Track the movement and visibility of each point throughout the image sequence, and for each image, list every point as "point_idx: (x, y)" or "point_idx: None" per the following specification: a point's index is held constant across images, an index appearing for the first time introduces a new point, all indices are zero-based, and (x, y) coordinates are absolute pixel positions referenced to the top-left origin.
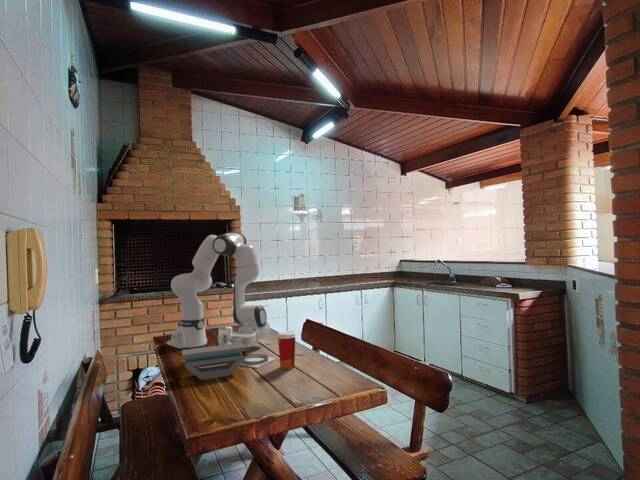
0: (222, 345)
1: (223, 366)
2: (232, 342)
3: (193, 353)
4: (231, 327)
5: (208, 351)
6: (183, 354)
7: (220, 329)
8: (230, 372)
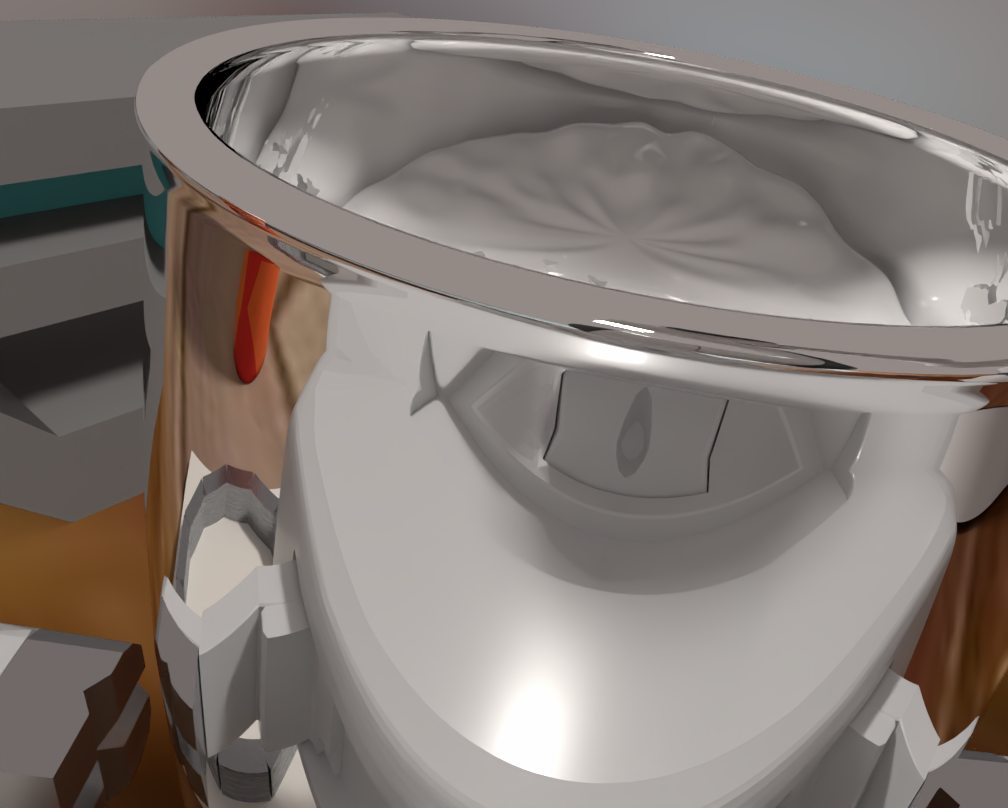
0: (76, 93)
1: (65, 354)
2: (139, 689)
3: (318, 15)
4: (475, 378)
5: (172, 19)
6: (401, 15)
7: (626, 70)
8: None
